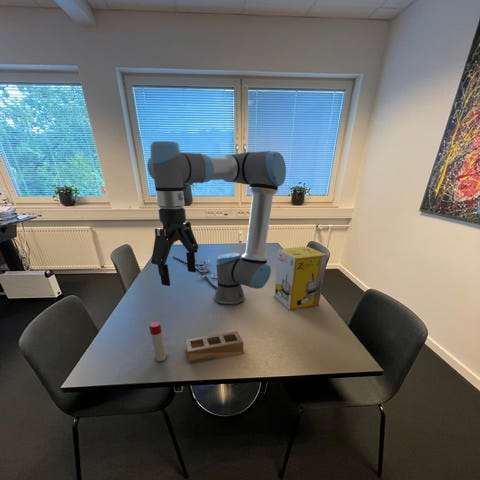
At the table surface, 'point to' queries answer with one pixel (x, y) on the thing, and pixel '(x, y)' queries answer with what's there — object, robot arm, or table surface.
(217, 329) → the table surface
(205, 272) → the drone parts
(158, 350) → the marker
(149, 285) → the table surface
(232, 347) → the pen holder
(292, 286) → the packaging box
